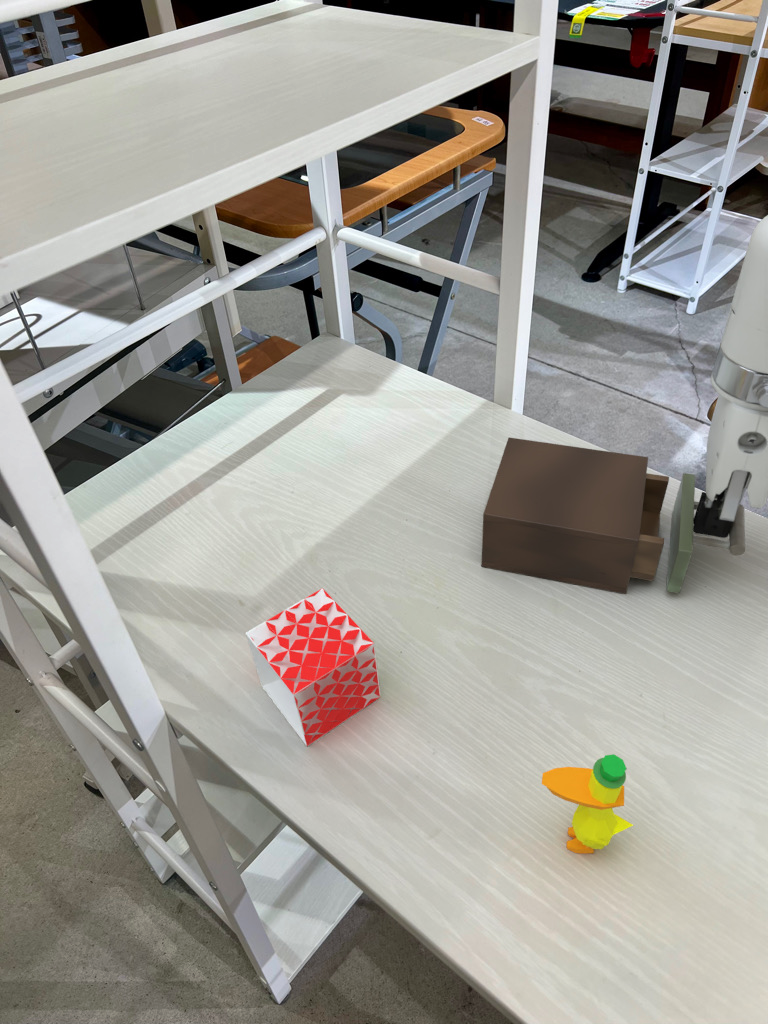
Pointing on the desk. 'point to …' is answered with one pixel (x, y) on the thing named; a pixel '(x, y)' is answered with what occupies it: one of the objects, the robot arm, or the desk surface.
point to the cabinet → (565, 514)
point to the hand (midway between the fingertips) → (709, 529)
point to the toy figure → (591, 801)
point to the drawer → (676, 532)
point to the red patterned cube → (315, 665)
